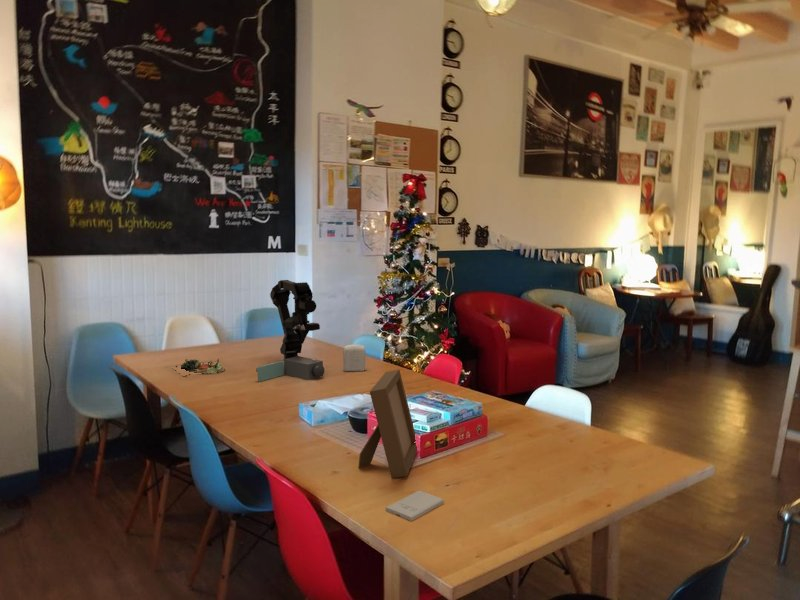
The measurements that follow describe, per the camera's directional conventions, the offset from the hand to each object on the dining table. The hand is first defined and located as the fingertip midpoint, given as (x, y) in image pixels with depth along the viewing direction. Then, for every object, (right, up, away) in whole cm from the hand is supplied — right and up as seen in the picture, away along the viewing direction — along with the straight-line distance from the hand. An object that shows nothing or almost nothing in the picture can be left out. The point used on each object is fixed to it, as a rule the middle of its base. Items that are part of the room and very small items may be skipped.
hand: (301, 343), depth 288 cm
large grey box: (+3, -14, -7) cm, 16 cm away
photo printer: (+24, -13, +3) cm, 28 cm away
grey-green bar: (-12, -14, -11) cm, 22 cm away
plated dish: (-47, -13, +5) cm, 49 cm away
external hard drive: (+49, -31, -134) cm, 146 cm away
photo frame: (+42, -27, -106) cm, 117 cm away
